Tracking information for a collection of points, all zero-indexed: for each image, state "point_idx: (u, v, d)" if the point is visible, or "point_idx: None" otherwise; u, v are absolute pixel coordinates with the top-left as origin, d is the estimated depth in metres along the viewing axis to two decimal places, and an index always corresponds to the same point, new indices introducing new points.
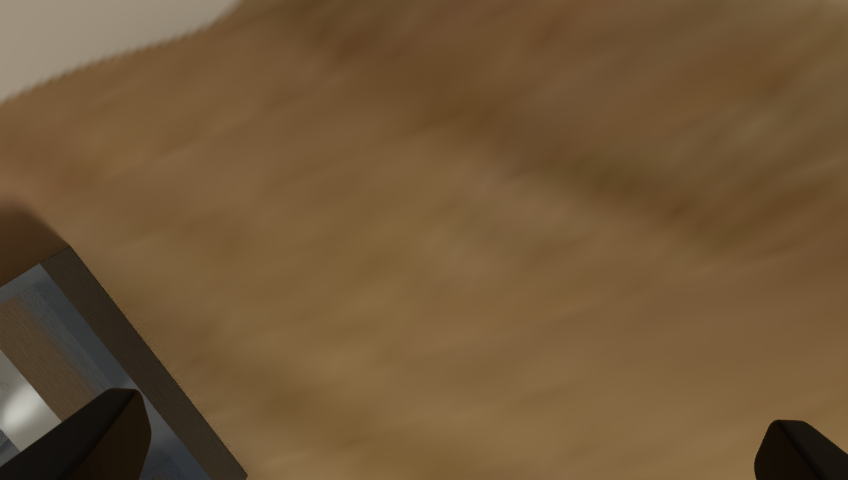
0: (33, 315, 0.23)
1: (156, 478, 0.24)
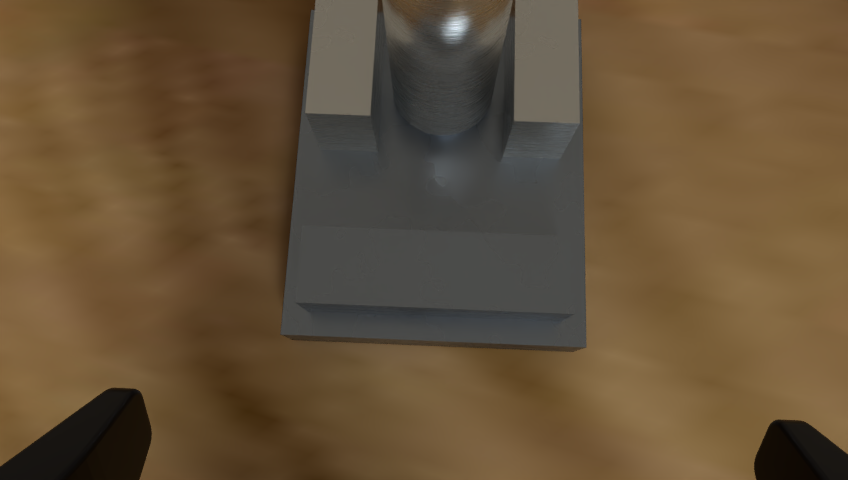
0: None
1: None
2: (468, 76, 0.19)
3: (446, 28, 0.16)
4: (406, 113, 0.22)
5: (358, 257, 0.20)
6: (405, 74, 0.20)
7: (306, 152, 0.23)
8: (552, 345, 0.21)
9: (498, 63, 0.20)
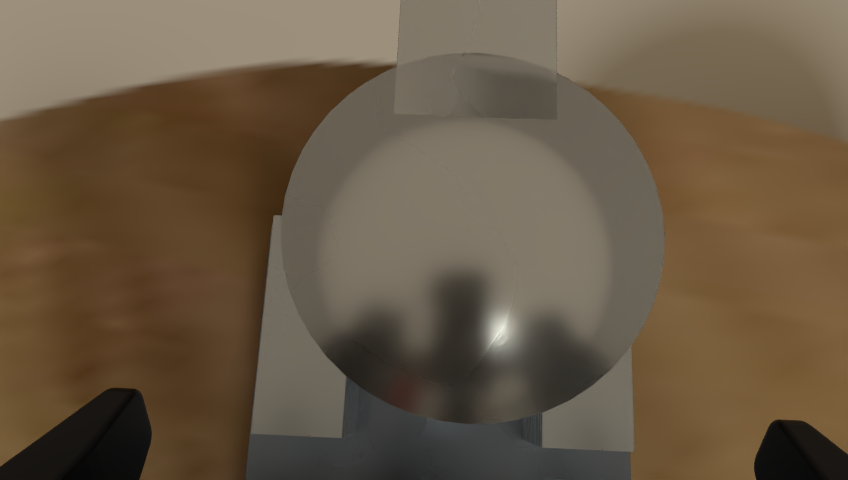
0: None
1: None
2: None
3: None
4: None
5: None
6: None
7: None
8: None
9: None
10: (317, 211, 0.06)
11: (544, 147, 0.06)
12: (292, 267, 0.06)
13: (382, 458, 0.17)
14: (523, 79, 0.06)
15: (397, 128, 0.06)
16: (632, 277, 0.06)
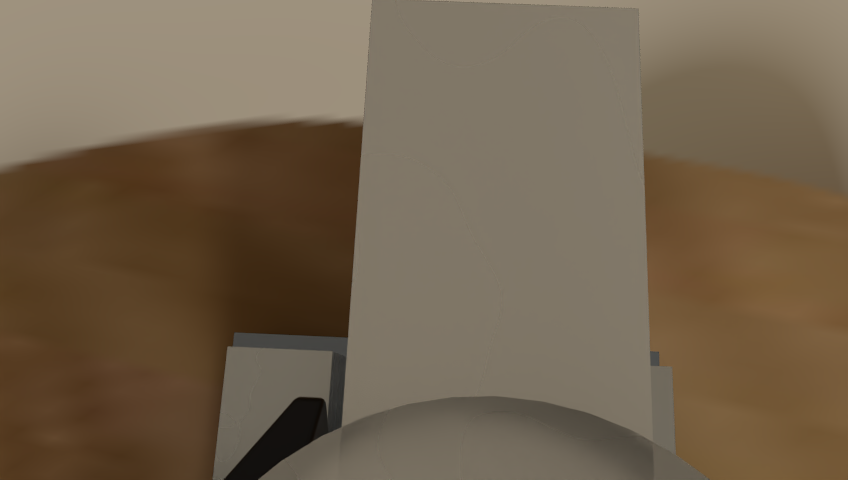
0: None
1: None
2: None
3: None
4: None
5: None
6: None
7: None
8: None
9: None
10: None
11: None
12: None
13: None
14: (590, 455, 0.03)
15: None
16: None
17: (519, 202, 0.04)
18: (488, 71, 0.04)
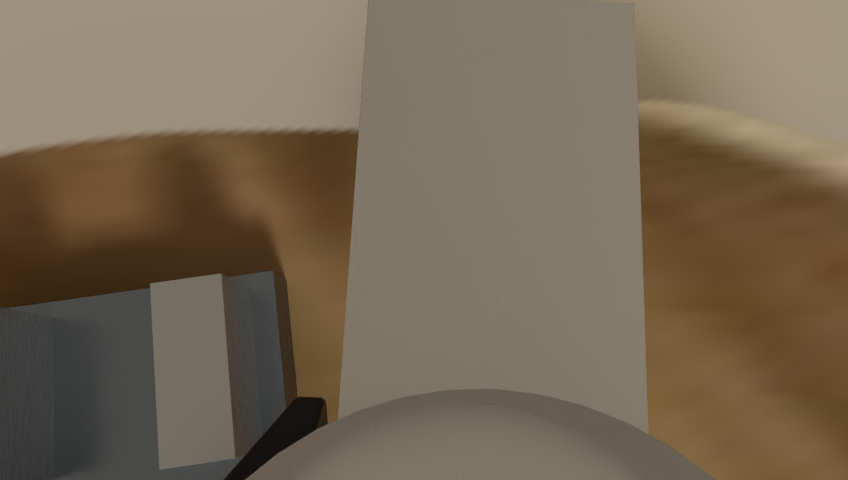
0: (244, 314, 0.20)
1: None
2: None
3: None
4: None
5: None
6: None
7: None
8: None
9: None
10: None
11: None
12: None
13: None
14: (583, 446, 0.03)
15: None
16: None
17: (516, 197, 0.04)
18: (485, 66, 0.04)
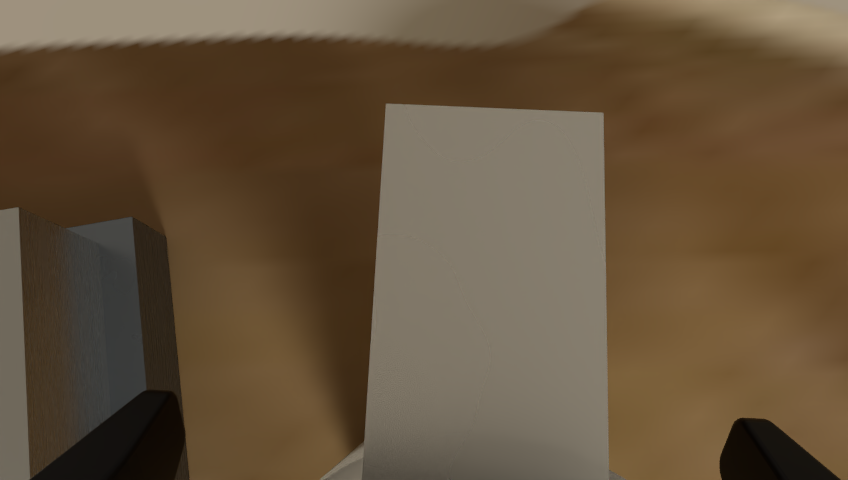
0: (80, 276, 0.14)
1: None
2: None
3: None
4: None
5: None
6: None
7: None
8: None
9: None
10: None
11: None
12: None
13: None
14: None
15: None
16: None
17: (506, 276, 0.05)
18: (480, 166, 0.05)
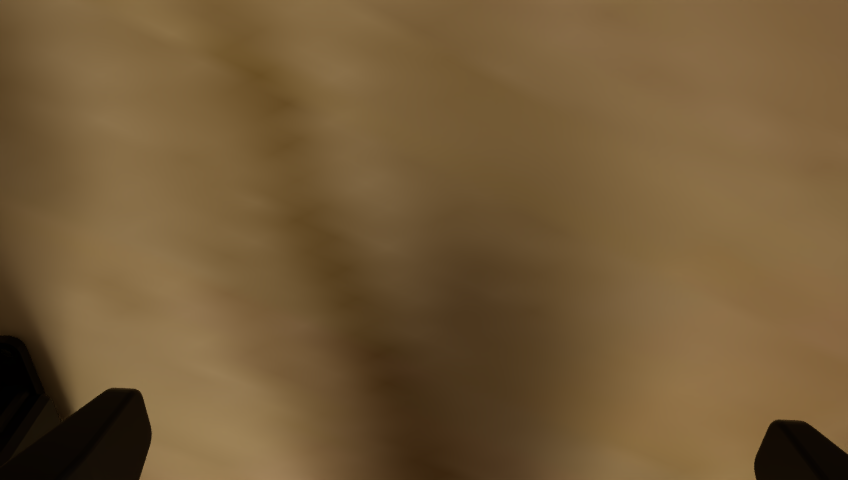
0: None
1: None
2: None
3: None
4: None
5: None
6: None
7: None
8: None
9: None
10: None
11: None
12: None
13: None
14: None
15: None
16: None
17: None
18: None
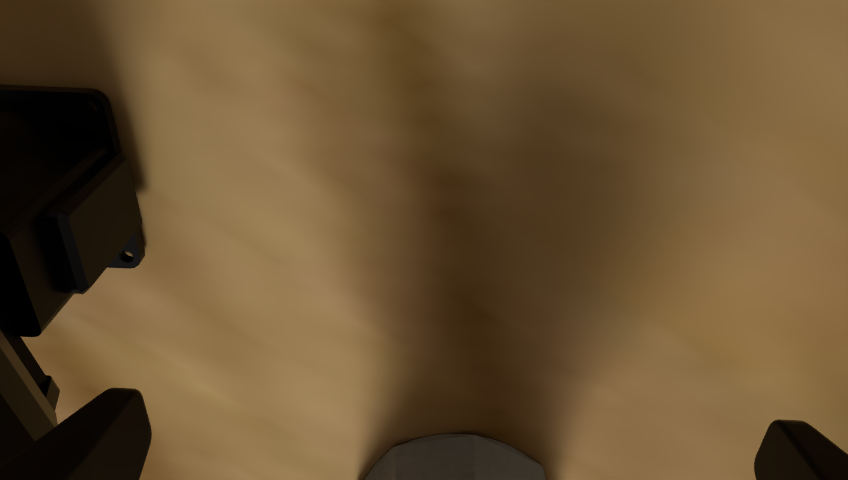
0: None
1: None
2: None
3: None
4: None
5: None
6: None
7: None
8: None
9: None
10: None
11: None
12: None
13: None
14: None
15: None
16: None
17: None
18: None
